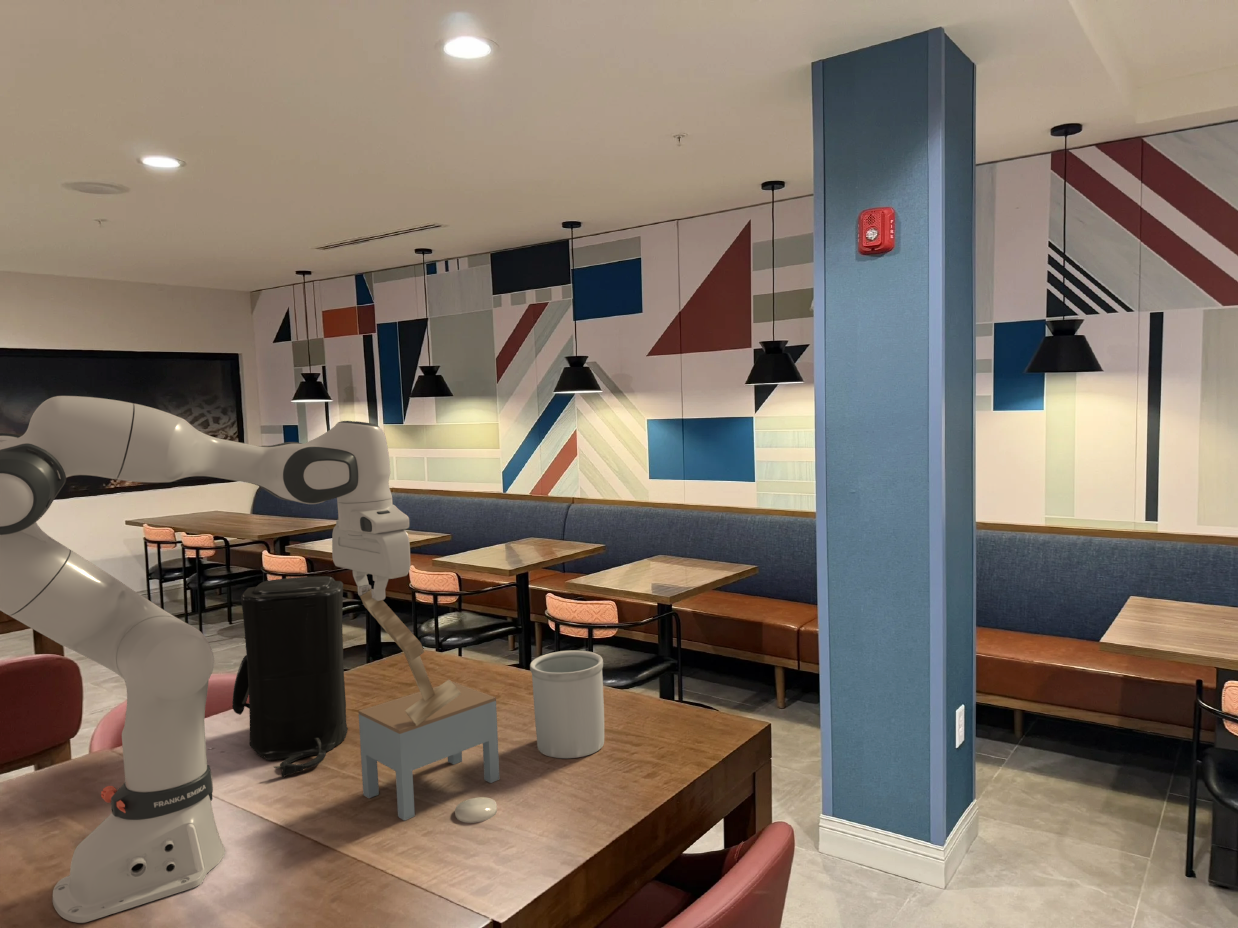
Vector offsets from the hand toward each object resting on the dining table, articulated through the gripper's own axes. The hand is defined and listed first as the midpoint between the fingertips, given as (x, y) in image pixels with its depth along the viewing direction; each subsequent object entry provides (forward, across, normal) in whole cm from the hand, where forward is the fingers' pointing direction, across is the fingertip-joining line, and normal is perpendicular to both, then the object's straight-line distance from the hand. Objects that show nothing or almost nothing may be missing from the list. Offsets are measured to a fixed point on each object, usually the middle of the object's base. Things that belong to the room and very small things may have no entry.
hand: (371, 597), depth 138 cm
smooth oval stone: (+38, +12, +10) cm, 41 cm away
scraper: (+13, +10, +4) cm, 17 cm away
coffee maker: (+38, -43, +1) cm, 57 cm away
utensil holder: (+38, +4, +39) cm, 55 cm away
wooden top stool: (+38, -2, +10) cm, 39 cm away
